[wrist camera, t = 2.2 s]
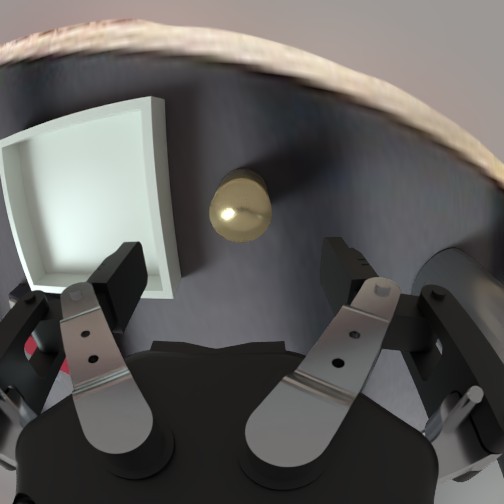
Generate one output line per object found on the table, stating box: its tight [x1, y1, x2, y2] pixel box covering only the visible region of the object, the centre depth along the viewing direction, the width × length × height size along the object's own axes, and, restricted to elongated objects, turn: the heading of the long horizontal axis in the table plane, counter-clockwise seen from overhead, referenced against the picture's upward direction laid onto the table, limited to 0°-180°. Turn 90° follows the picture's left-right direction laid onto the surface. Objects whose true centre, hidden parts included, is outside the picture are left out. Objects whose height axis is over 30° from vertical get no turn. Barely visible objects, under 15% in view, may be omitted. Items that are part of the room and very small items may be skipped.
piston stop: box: [209, 168, 272, 242], centre depth 21 cm, size 4×4×6 cm
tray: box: [0, 96, 181, 299], centre depth 22 cm, size 18×17×4 cm
